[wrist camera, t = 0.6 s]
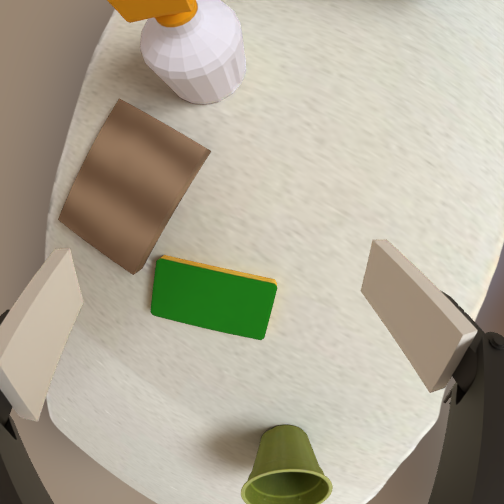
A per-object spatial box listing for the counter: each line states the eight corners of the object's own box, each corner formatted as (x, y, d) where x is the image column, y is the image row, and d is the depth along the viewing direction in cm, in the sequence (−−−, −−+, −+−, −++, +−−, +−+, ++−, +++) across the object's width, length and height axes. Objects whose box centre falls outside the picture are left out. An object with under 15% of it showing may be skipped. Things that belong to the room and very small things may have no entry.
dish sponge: (162, 253, 37) (156, 258, 34) (277, 278, 37) (278, 285, 35) (155, 307, 38) (149, 314, 36) (263, 332, 38) (263, 341, 36)
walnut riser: (129, 104, 32) (119, 98, 30) (211, 151, 34) (206, 148, 31) (70, 216, 36) (58, 219, 33) (142, 268, 37) (133, 274, 34)
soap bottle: (245, 34, 30) (223, -124, 6) (246, 103, 32) (218, -34, 8) (170, 41, 31) (74, -86, 7) (168, 109, 33) (34, 17, 9)
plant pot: (314, 404, 40) (326, 461, 29) (326, 452, 43) (336, 504, 32) (234, 420, 41) (228, 478, 30) (256, 466, 44) (254, 518, 33)
